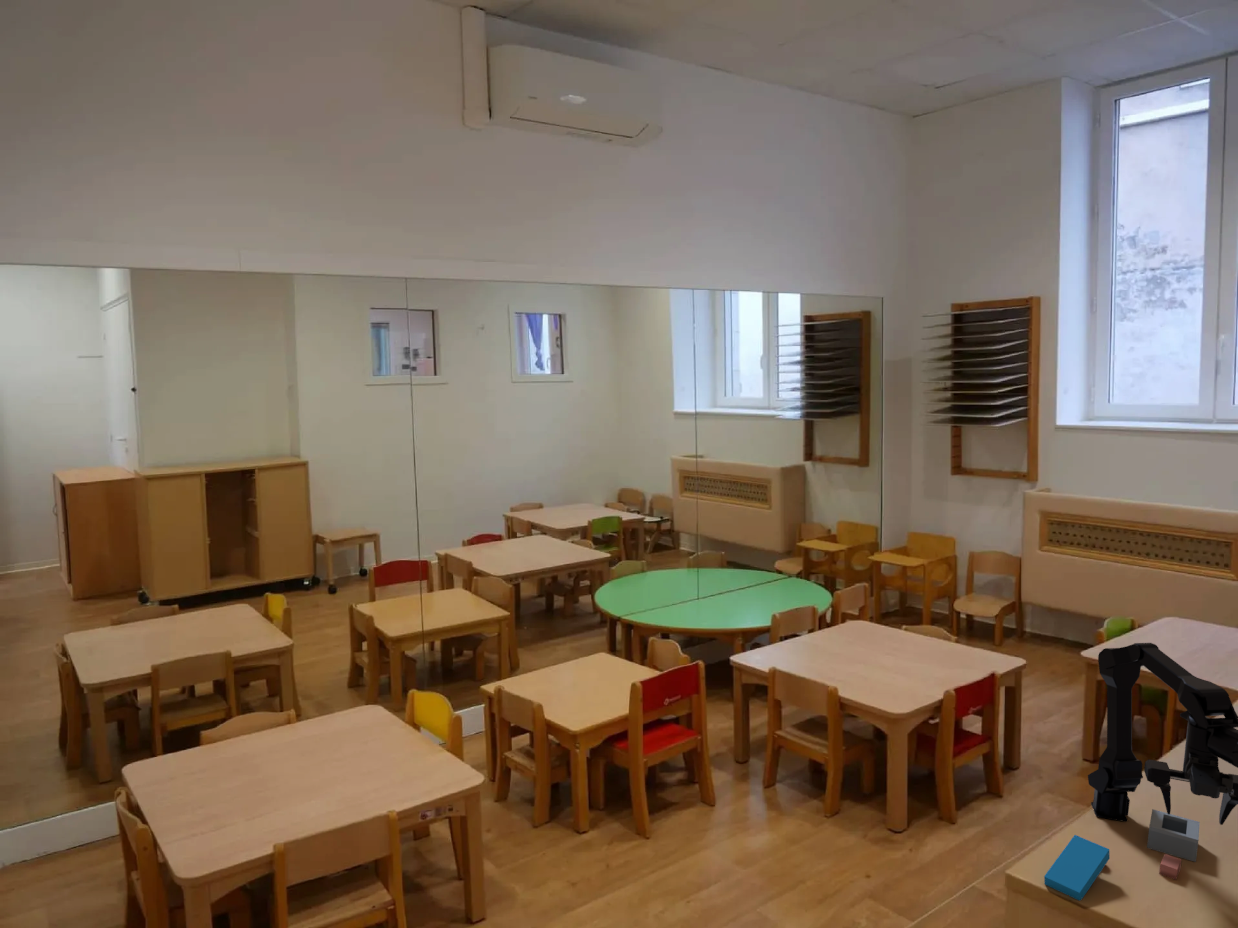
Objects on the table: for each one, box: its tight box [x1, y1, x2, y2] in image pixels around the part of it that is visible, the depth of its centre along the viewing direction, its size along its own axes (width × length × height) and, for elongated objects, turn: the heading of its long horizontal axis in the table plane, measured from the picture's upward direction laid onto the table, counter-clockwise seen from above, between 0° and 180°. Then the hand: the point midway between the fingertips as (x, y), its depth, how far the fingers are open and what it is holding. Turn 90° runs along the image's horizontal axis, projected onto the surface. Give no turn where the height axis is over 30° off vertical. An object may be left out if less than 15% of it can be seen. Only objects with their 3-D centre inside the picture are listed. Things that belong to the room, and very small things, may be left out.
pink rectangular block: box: [1158, 853, 1183, 881], centre depth 185 cm, size 5×3×2 cm, turn 139°
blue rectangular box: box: [1043, 834, 1110, 901], centre depth 183 cm, size 7×7×18 cm
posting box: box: [1146, 808, 1201, 863], centre depth 194 cm, size 9×9×5 cm
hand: (1194, 818), depth 183 cm, fingers open, 9 cm apart
